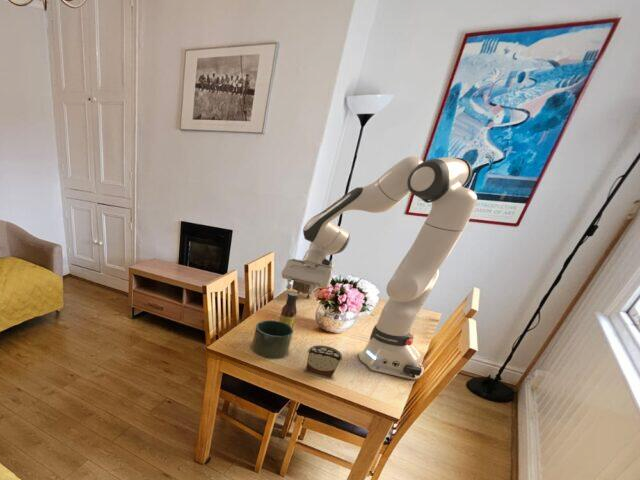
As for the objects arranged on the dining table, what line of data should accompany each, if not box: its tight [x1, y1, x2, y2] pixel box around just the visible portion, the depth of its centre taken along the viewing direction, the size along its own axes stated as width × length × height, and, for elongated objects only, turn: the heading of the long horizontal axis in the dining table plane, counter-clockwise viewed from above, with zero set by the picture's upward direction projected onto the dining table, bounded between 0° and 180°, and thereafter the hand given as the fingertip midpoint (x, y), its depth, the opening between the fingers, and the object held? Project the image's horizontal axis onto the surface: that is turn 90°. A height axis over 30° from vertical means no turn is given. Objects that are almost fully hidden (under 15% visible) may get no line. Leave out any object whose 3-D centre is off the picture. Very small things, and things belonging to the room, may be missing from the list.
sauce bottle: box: [279, 292, 299, 330], centre depth 170 cm, size 6×6×20 cm
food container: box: [304, 344, 343, 380], centre depth 150 cm, size 12×6×10 cm, turn 59°
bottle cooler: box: [251, 319, 294, 359], centre depth 164 cm, size 15×15×10 cm
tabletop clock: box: [291, 280, 320, 299], centre depth 204 cm, size 14×9×25 cm, turn 126°
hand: (298, 291), depth 169 cm, fingers open, 8 cm apart
